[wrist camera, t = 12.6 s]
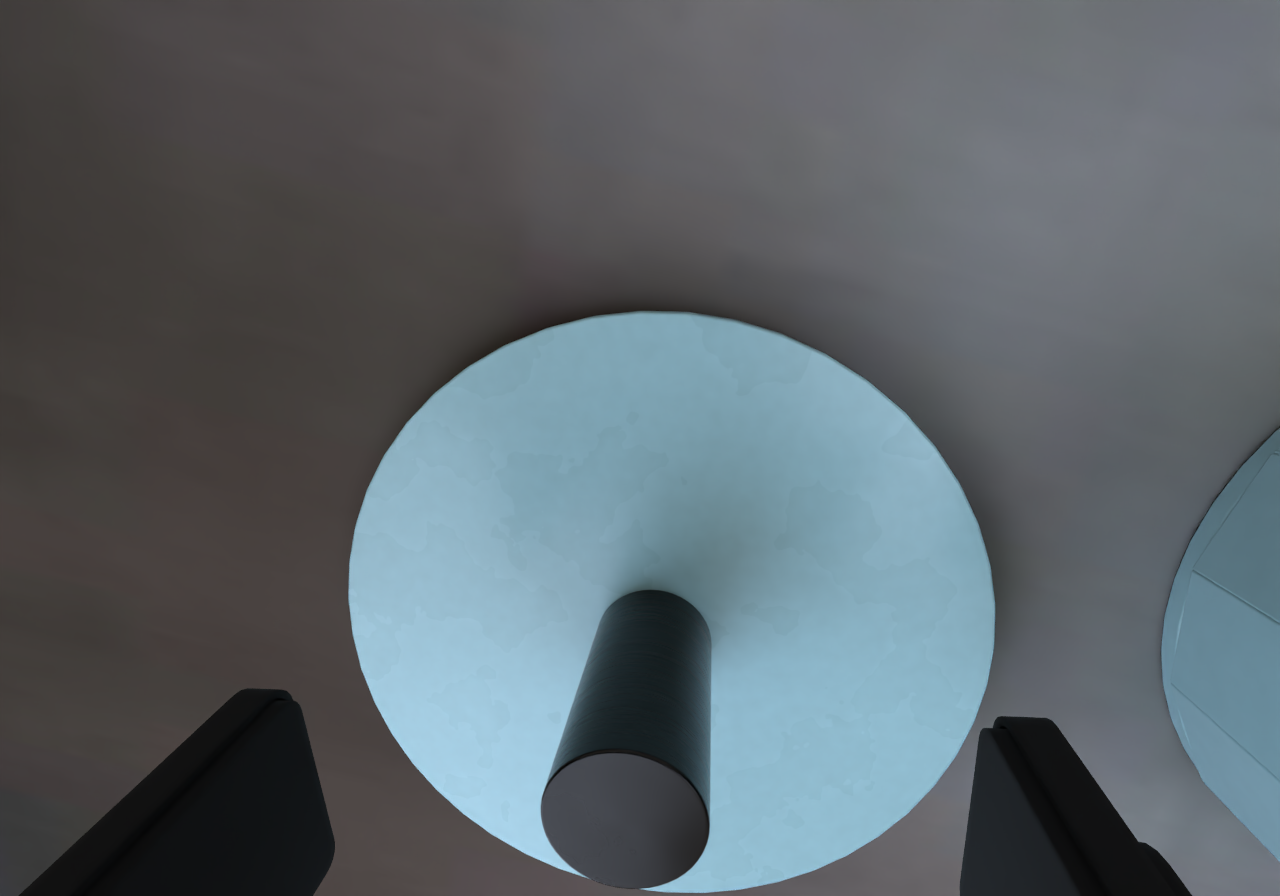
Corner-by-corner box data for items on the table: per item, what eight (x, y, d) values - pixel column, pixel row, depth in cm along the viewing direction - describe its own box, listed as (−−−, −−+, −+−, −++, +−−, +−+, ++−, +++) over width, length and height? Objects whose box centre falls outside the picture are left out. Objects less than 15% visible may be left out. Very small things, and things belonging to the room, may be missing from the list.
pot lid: (325, 322, 14) (61, 355, 9) (1007, 293, 13) (1256, 309, 7) (414, 840, 18) (273, 1107, 12) (950, 873, 16) (1079, 1201, 11)
